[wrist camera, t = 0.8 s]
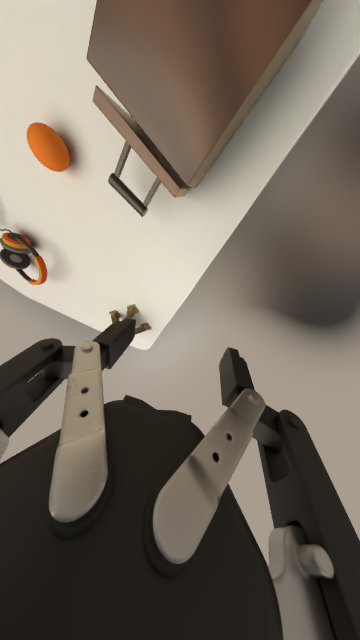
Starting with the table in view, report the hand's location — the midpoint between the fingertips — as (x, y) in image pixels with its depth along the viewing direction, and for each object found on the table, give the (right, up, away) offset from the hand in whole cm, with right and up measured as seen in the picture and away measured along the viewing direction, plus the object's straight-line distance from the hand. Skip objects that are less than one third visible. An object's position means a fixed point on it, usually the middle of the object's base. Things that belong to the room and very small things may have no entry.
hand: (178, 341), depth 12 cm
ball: (-21, +29, +11) cm, 37 cm away
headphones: (-42, +22, +26) cm, 54 cm away
